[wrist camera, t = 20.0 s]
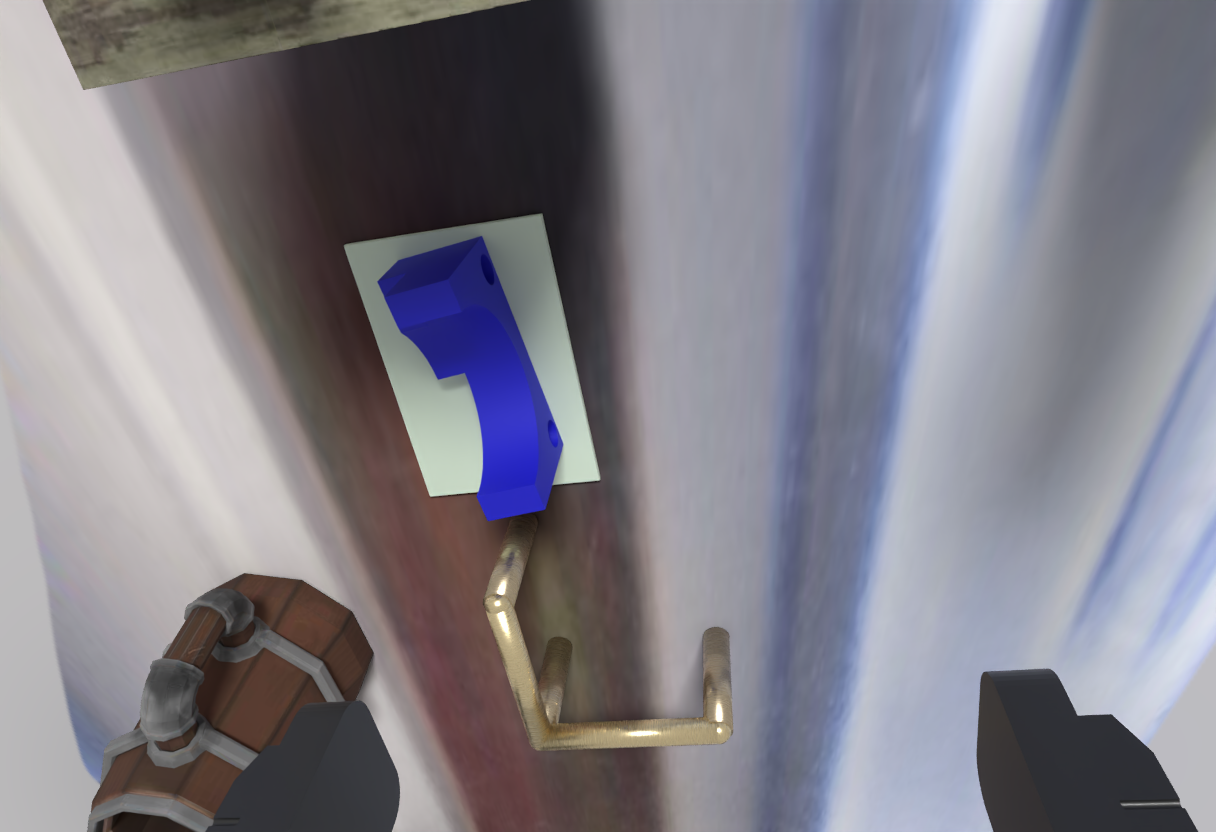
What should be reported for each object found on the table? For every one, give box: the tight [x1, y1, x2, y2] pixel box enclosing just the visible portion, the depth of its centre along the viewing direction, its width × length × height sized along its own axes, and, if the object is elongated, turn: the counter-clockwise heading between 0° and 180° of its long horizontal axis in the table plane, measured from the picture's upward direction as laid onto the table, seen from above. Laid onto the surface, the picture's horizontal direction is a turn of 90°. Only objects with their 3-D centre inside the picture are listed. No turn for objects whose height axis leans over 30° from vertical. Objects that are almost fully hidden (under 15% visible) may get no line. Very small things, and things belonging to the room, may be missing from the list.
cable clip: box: [377, 236, 564, 521], centre depth 39 cm, size 12×4×6 cm, turn 17°
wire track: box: [483, 512, 733, 751], centre depth 45 cm, size 12×12×8 cm
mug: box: [87, 573, 373, 832], centre depth 47 cm, size 16×12×15 cm
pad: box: [344, 213, 600, 497], centre depth 42 cm, size 10×15×1 cm, turn 10°
